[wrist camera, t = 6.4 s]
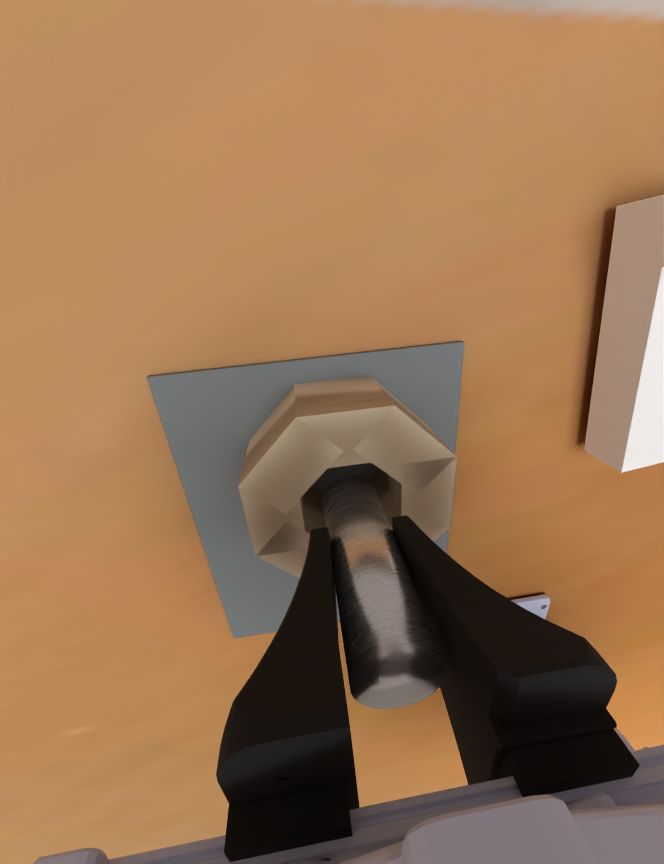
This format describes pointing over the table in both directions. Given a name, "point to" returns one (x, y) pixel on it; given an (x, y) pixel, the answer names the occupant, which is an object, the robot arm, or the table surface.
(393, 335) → the table surface
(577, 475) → the table surface
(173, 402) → the mat
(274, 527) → the ring
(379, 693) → the peg
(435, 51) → the table surface
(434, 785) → the table surface
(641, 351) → the bracket
